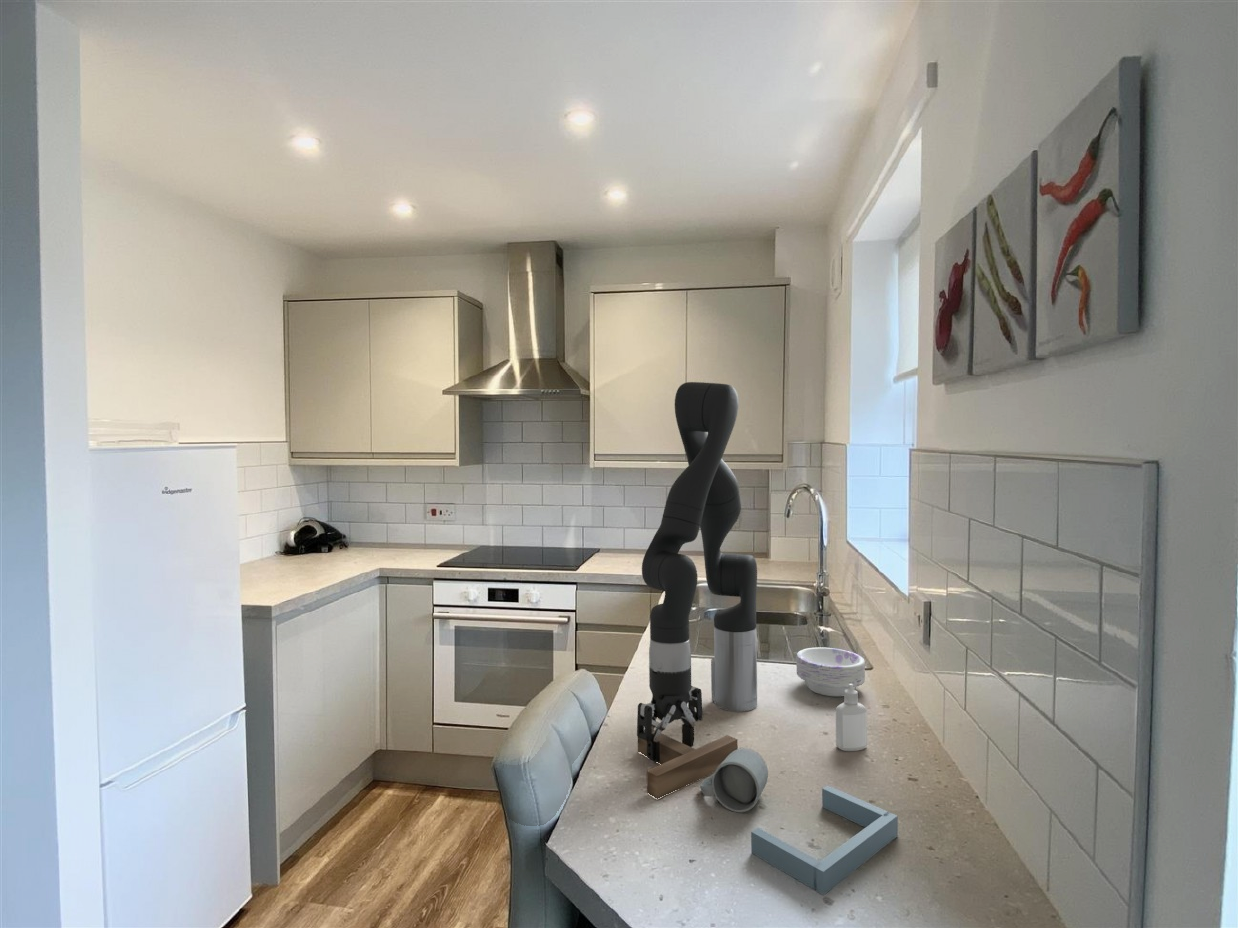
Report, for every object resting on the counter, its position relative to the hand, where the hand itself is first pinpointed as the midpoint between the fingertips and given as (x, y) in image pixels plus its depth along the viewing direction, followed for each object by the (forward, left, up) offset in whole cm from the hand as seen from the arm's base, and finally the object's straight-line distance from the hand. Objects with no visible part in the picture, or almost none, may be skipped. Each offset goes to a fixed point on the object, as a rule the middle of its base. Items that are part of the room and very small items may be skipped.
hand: (671, 753), depth 117 cm
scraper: (0, 0, -2) cm, 2 cm away
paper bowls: (-1, +53, -2) cm, 53 cm away
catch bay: (+31, 0, -2) cm, 31 cm away
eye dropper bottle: (+18, +30, -2) cm, 35 cm away
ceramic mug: (+15, 0, -3) cm, 15 cm away
